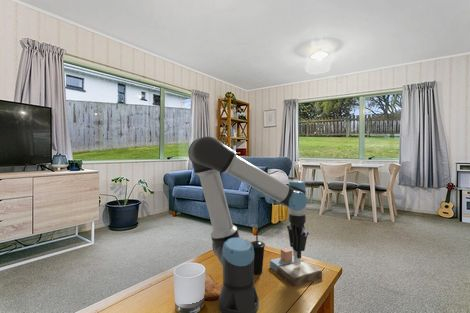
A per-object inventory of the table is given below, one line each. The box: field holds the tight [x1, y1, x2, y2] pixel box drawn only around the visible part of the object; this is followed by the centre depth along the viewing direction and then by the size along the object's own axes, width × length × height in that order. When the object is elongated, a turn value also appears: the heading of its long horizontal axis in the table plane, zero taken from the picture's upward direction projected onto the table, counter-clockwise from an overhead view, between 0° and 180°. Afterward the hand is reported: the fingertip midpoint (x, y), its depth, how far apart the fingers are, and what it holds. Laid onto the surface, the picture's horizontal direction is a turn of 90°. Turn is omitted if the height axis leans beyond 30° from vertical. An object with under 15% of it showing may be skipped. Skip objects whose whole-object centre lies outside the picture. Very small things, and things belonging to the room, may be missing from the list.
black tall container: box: [250, 230, 266, 276], centre depth 116 cm, size 8×8×20 cm
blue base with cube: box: [269, 247, 304, 274], centre depth 122 cm, size 15×7×8 cm, turn 115°
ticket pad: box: [277, 259, 323, 287], centre depth 113 cm, size 16×12×4 cm
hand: (297, 264), depth 114 cm, fingers closed
